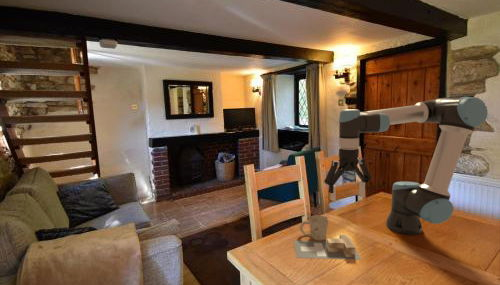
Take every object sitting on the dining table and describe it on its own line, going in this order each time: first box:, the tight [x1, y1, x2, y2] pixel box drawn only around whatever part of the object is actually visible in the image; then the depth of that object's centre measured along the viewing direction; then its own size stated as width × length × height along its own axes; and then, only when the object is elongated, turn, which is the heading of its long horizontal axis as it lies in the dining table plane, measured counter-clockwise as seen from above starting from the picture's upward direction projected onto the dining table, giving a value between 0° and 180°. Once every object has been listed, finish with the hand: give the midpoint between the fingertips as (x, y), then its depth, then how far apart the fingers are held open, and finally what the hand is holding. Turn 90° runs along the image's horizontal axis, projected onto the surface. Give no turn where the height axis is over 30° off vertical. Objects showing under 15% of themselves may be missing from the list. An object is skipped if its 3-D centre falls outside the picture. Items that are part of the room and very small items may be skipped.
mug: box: [299, 214, 329, 241], centre depth 117 cm, size 8×13×10 cm, turn 78°
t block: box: [326, 234, 357, 257], centre depth 106 cm, size 10×10×4 cm
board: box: [293, 240, 363, 261], centre depth 107 cm, size 25×13×2 cm, turn 86°
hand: (347, 198), depth 107 cm, fingers open, 13 cm apart
